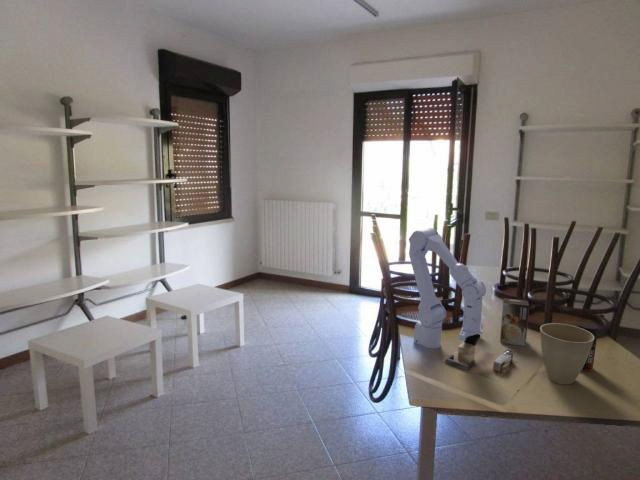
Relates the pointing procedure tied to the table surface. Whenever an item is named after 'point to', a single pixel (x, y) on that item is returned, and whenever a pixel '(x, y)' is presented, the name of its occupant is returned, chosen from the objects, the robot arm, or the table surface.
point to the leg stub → (466, 352)
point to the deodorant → (594, 330)
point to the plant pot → (564, 350)
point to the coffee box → (514, 321)
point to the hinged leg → (503, 360)
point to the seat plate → (480, 364)
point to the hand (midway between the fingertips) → (469, 353)
